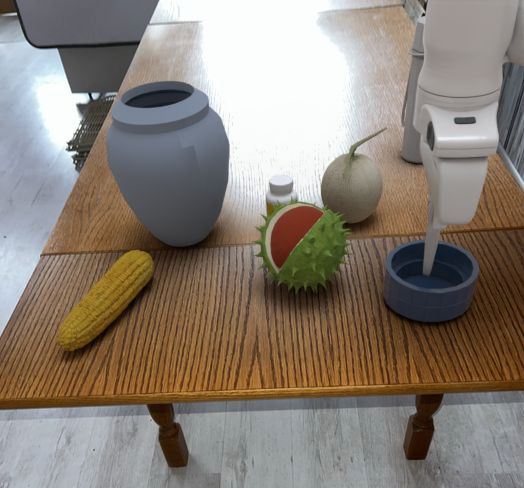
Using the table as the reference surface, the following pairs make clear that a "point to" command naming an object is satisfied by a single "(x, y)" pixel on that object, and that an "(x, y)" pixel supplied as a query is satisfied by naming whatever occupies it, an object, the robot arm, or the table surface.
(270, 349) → the table surface
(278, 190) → the supplement bottle
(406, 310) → the bowl
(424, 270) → the pen
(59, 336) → the food
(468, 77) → the robot arm
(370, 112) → the table surface
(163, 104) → the vase
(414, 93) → the water bottle
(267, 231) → the chestnut
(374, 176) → the fruit
